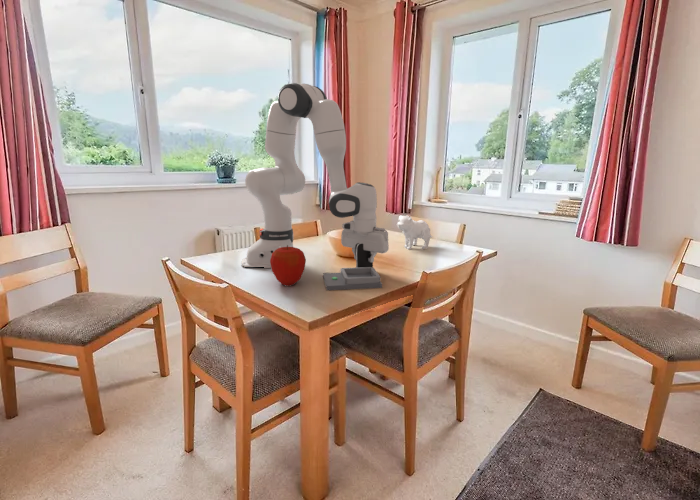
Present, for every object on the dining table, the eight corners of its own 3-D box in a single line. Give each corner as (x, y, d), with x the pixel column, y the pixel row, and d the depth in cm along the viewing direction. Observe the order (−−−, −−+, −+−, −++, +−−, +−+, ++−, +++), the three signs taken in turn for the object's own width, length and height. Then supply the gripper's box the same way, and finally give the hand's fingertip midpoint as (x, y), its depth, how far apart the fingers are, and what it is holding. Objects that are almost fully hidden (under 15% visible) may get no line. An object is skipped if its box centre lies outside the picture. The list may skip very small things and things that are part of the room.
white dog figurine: (424, 242, 193) (426, 211, 189) (439, 246, 185) (442, 213, 180) (388, 248, 179) (390, 215, 175) (403, 253, 170) (405, 218, 166)
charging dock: (326, 290, 121) (326, 280, 120) (323, 277, 135) (323, 268, 134) (382, 287, 124) (382, 278, 123) (373, 275, 138) (373, 266, 137)
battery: (369, 268, 146) (370, 240, 143) (373, 271, 142) (374, 242, 140) (353, 270, 143) (353, 241, 141) (357, 272, 140) (357, 243, 137)
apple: (312, 286, 125) (311, 246, 122) (279, 292, 119) (277, 250, 115) (297, 276, 135) (296, 239, 132) (266, 281, 129) (264, 243, 125)
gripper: (392, 227, 135) (391, 263, 138) (348, 221, 147) (348, 254, 150) (383, 230, 130) (382, 267, 133) (338, 223, 142) (338, 257, 145)
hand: (363, 260), depth 142 cm, fingers closed on battery, 5 cm apart
